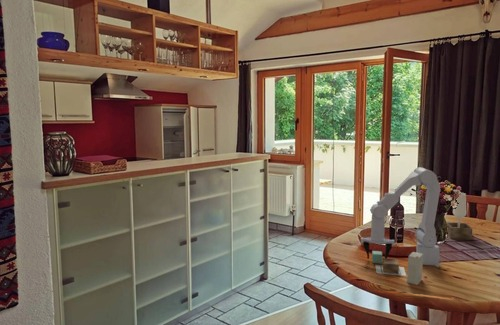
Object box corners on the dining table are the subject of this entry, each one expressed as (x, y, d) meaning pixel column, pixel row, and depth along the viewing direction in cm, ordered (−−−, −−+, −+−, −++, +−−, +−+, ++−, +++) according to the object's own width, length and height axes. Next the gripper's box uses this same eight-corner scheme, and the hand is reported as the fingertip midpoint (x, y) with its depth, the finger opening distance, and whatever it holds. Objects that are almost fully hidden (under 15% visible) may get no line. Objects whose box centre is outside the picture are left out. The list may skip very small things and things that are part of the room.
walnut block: (396, 267, 168) (397, 259, 167) (398, 273, 162) (398, 264, 161) (382, 266, 169) (382, 258, 169) (383, 272, 164) (383, 263, 163)
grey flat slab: (403, 268, 169) (403, 267, 168) (406, 277, 160) (406, 275, 160) (375, 266, 172) (375, 264, 171) (376, 274, 163) (376, 272, 163)
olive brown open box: (466, 233, 215) (466, 223, 214) (471, 239, 204) (472, 228, 204) (445, 232, 217) (446, 222, 216) (450, 238, 207) (450, 227, 206)
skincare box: (411, 278, 159) (412, 251, 157) (422, 281, 156) (423, 253, 154) (406, 284, 154) (407, 255, 152) (417, 287, 151) (419, 258, 150)
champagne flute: (451, 236, 209) (453, 194, 206) (451, 233, 215) (453, 191, 212) (465, 238, 206) (468, 195, 203) (465, 234, 212) (467, 192, 209)
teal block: (381, 261, 177) (381, 251, 176) (382, 265, 173) (382, 254, 172) (371, 260, 178) (372, 250, 178) (372, 264, 174) (372, 254, 174)
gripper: (393, 228, 176) (392, 256, 177) (361, 226, 179) (360, 254, 181) (395, 233, 169) (394, 262, 171) (361, 231, 173) (360, 259, 174)
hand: (376, 258), depth 175 cm, fingers open, 7 cm apart
